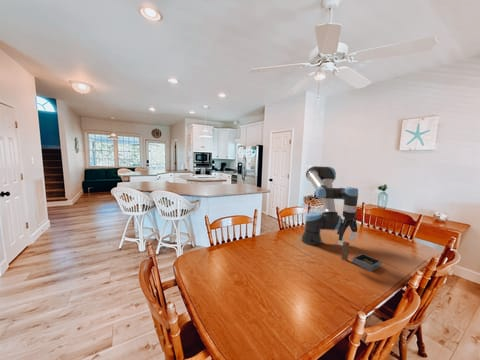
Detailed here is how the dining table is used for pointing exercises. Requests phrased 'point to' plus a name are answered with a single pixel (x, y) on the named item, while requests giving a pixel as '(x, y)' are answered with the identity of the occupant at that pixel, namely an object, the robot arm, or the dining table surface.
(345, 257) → the curved brown wooden bar
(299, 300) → the dining table surface
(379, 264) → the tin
